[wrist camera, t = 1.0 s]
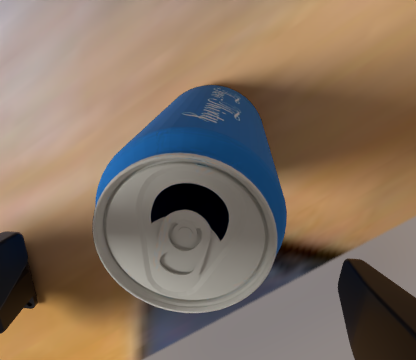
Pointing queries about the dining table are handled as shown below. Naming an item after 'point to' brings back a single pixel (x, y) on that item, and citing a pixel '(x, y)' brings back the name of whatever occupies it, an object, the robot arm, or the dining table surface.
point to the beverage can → (192, 205)
